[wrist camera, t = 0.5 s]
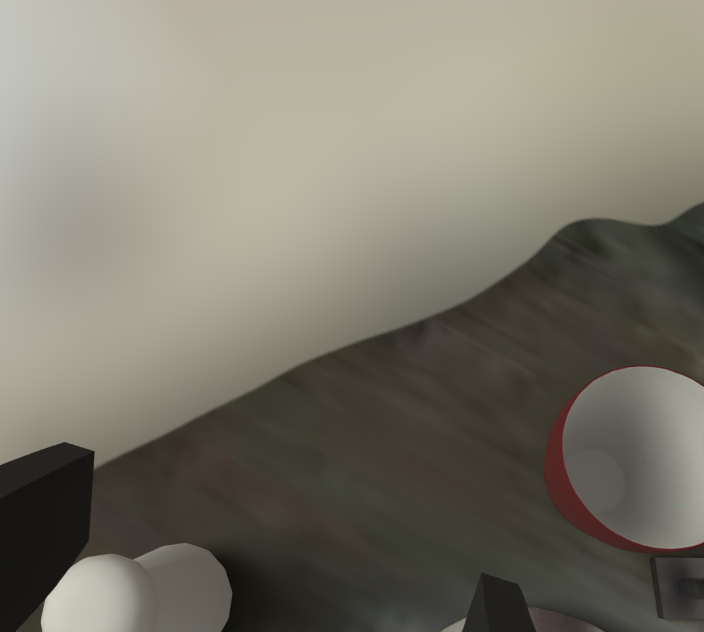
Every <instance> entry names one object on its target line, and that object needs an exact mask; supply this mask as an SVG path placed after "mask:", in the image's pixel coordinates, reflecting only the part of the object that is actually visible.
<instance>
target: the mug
mask: <svg viewBox="0 0 704 632" xmlns="http://www.w3.org/2000/svg"><path fill="white" fill-rule="evenodd" d="M544 479H545V484H546V488H547V491H548V493H549V496H550V498H551V500H552V502H553V504H554V505H555V507H556V508H557V510H558V511H559V512H560V513H561V514H562V516H563V517H564V518H565V519H566V520H567V521H568V522H570V523H571V524H572V525H573V526H575V527H576V528H578V529H579V530H581V531H583V532H585V533H586V534H588V535H590V536H592V537H594V538H596V539H598V540H600V541H602V542H604V543H606V544H609V545H611V546H614V547H617V548H620V549H623V550H628V551H632V552H640V553H667V552H676V551H683V550H688V549H692V548H696V547H699V546H702V545H704V385H702V384H701V383H699V382H698V381H696V380H694V379H692V378H691V377H689V376H686V375H684V374H682V373H679V372H677V371H674V370H671V369H667V368H663V367H658V366H649V365H634V366H626V367H621V368H617V369H614V370H611V371H608V372H606V373H603V374H602V375H600V376H598V377H596V378H594V379H593V380H591V381H590V382H589V383H587V384H586V385H585V386H584V387H583V388H581V389H580V390H579V391H578V392H577V393H576V394H575V395H574V396H573V397H572V398H571V399H570V400H569V401H568V402H567V403H566V404H565V405H564V407H563V408H562V409H561V411H560V412H559V414H558V416H557V417H556V419H555V421H554V424H553V426H552V428H551V431H550V434H549V438H548V442H547V447H546V453H545V458H544Z"/></svg>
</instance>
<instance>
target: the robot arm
mask: <svg viewBox="0 0 704 632" xmlns="http://www.w3.org/2000/svg"><path fill="white" fill-rule="evenodd" d="M94 452H95V451H92V450H88V449H85V448H82V447H79V446H75V445H73V444H69V443H66V442H64V443H60V444H57V445H54V446H51V447H48V448H45V449H43V450H40V451H37V452H34V453H31V454H29V455H26V456H23V457H20V458H18V459H15V460H13V461H10V462H7V463H5V464H2V465H0V632H15V631H16V630H17V629H18V628H19V627H20V626H21V625H22V624H23V623H24V622H25V621H26V620H27V618H28V617H29V616H30V615H31V614H32V613H33V612H34V611H35V610H36V609H37V607H38V606H39V605H40V604H41V603H42V602H43V601H44V600H45V599H46V598H47V596H48V595H49V594H50V593H51V592H52V591H53V590H54V588H55V587H56V586H57V584H58V583H59V582H60V580H61V579H62V578H63V576H64V575H65V574H66V572H67V571H68V570H69V568H70V567H71V566H72V564H73V563H74V561H75V560H76V558H77V557H78V555H79V554H80V553H81V551H82V550H83V548H84V547H85V545H86V544H87V543H88V541H89V527H90V512H91V497H92V482H93V467H94ZM462 632H536V629H535V626H534V624H533V621H532V618H531V616H530V613H529V610H528V607H527V604H526V601H525V599H524V596H523V593H522V591H521V589H520V587H519V585H518V584H516V583H512V582H509V581H506V580H503V579H500V578H497V577H493V576H490V575H487V574H484V573H482V574H481V576H480V579H479V582H478V585H477V588H476V591H475V594H474V597H473V600H472V603H471V606H470V609H469V612H468V615H467V618H466V621H465V624H464V627H463V630H462Z"/></svg>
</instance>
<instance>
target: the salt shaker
mask: <svg viewBox="0 0 704 632" xmlns="http://www.w3.org/2000/svg"><path fill="white" fill-rule="evenodd" d="M231 599H232V590H231V586H230V583H229V580H228V577H227V574H226V571H225V568H224V567H223V566H222V565H221V564H220V563H219V562H218V560H217V559H216V558H215V557H214V556H213V555H212V554H211V553H210V551H208V550H206V549H203V548H200V547H197V546H194V545H191V544H187V543H183V544H176V545H169V546H163V547H160V548H158V549H156V550H154V551H151V552H149V553H147V554H145V555H143V556H140V557H138V558H136V559H134V560H131V559H128V558H126V557H123V556H120V555H116V554H107V555H100V556H93V557H88V558H85V559H83V560H81V561H79V562H78V563H77V564H75V565H74V566H72V567H71V568H69V570H68V571H67V572H66V574H65V575H64V576H63V578H62V579H61V580H60V582H59V583H58V584H57V586H56V587H55V588H54V590H53V591H52V592H51V593H50V594H49V595H48V596H47V598H46V600H45V605H44V609H43V614H42V619H41V625H42V631H43V632H221V631H222V629H223V627H224V626H225V624H226V622H227V620H228V618H229V612H230V605H231Z"/></svg>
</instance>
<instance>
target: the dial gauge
mask: <svg viewBox="0 0 704 632" xmlns="http://www.w3.org/2000/svg"><path fill="white" fill-rule="evenodd" d="M650 563H651V570H652V577H653V584H654V591H655V598H656V605H657V612H658V618H663V619H704V558H661V557H653V558H650Z"/></svg>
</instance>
